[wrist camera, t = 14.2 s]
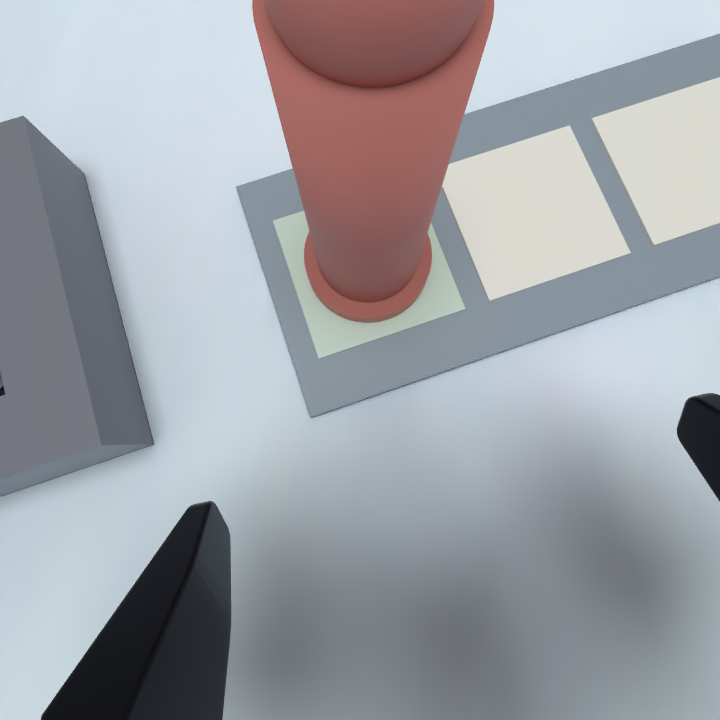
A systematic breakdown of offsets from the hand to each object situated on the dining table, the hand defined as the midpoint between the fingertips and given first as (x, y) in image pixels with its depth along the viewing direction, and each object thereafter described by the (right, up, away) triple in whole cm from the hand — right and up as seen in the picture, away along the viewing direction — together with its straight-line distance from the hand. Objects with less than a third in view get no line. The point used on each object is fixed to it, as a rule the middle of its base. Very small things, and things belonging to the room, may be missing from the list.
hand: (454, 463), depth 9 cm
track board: (+5, +8, +10) cm, 14 cm away
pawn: (-1, +6, +9) cm, 11 cm away
